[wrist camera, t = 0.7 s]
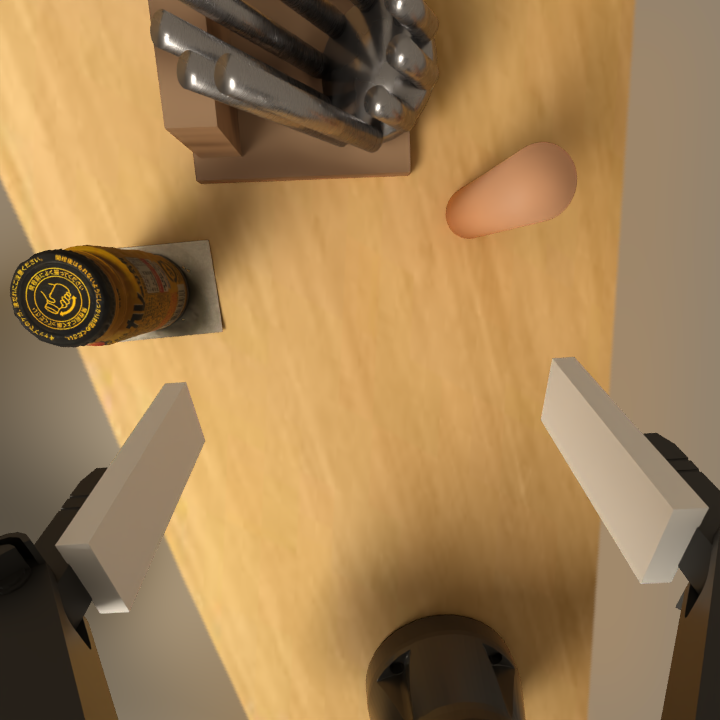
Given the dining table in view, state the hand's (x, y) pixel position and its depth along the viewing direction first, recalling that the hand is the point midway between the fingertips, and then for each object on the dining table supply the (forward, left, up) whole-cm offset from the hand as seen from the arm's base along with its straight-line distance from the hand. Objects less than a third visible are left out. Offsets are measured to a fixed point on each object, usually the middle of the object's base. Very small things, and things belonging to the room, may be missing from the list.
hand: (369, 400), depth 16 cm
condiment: (+4, +15, -21) cm, 26 cm away
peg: (+9, -10, -21) cm, 25 cm away
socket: (+18, +1, -21) cm, 27 cm away
